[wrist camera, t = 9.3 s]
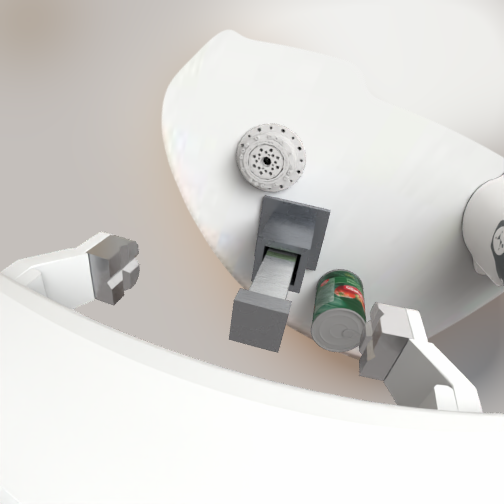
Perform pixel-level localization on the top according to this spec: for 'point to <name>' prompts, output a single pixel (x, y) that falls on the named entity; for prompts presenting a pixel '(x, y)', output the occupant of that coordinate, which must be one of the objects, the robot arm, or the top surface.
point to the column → (264, 303)
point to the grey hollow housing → (291, 234)
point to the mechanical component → (271, 157)
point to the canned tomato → (338, 311)
